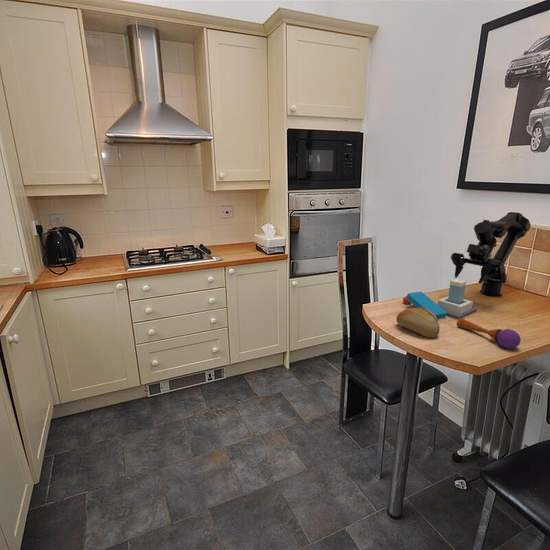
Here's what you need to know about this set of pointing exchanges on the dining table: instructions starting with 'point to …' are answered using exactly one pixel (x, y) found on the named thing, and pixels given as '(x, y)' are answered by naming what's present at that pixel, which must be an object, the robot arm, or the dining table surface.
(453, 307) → the board
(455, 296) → the box with white lid
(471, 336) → the dining table surface
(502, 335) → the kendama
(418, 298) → the blue long block
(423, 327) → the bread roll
